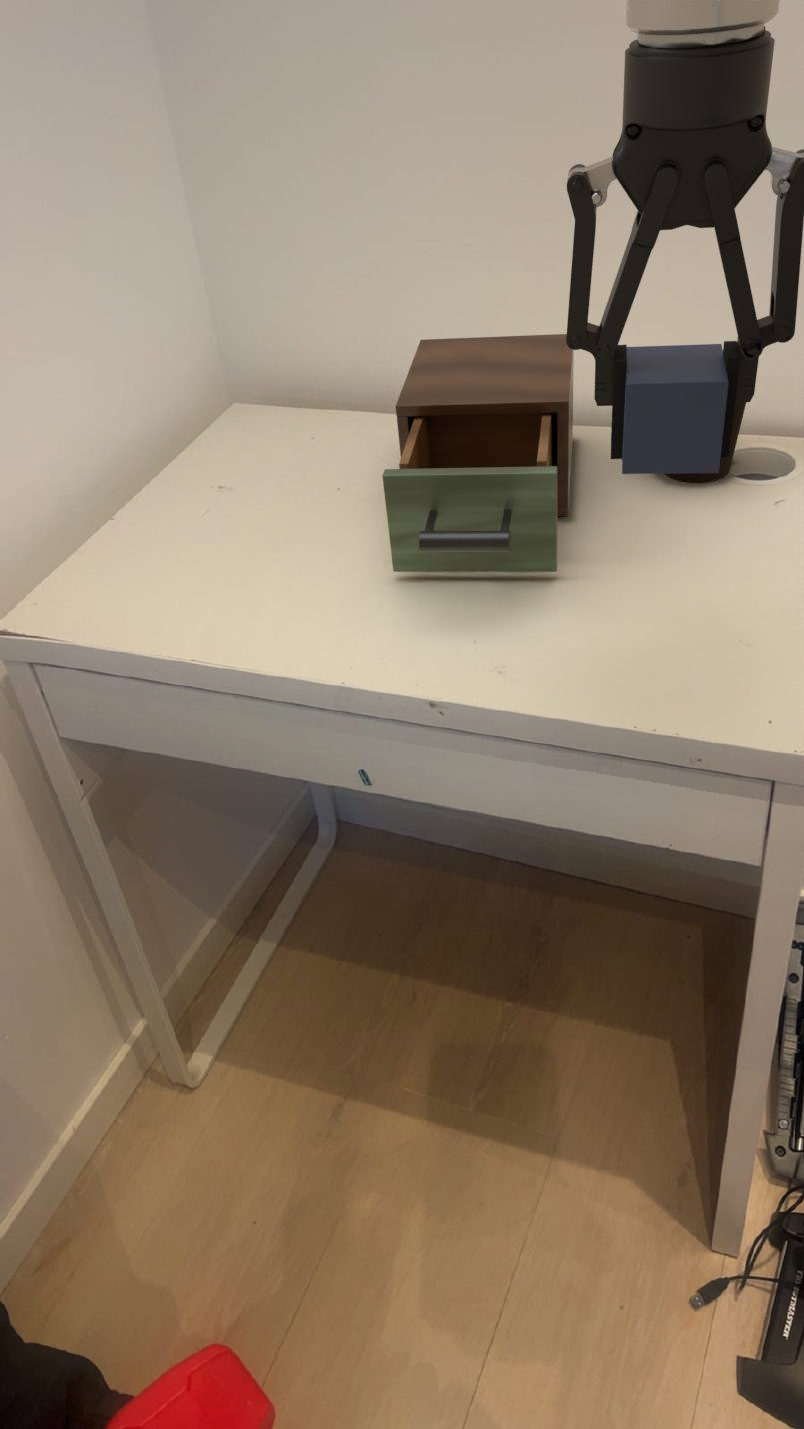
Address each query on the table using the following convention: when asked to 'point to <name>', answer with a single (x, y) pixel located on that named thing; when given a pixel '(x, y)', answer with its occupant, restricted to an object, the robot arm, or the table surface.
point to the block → (674, 409)
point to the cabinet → (495, 387)
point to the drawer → (474, 495)
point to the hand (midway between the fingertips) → (668, 448)
